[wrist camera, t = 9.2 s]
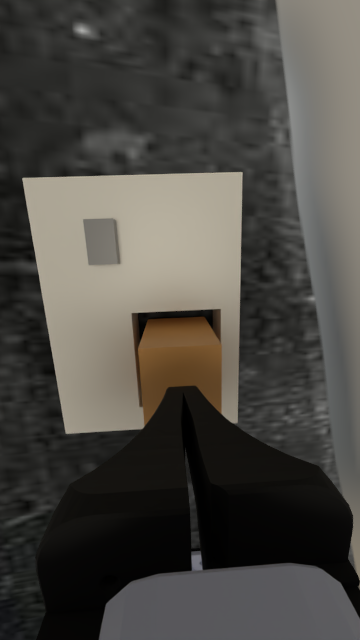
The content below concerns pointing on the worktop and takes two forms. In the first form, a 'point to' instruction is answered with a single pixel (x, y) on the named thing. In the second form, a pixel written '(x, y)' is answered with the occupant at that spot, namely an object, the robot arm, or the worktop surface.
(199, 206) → the socket
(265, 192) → the worktop surface
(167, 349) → the plug
